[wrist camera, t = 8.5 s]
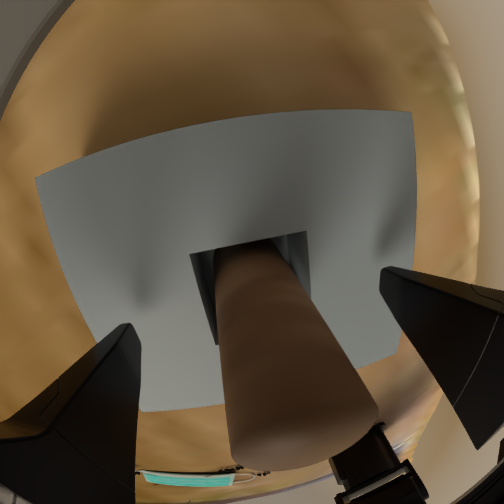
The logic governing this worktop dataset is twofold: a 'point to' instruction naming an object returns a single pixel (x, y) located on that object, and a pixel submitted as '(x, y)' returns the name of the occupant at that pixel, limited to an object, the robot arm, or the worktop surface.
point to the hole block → (235, 232)
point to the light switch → (23, 37)
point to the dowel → (281, 366)
